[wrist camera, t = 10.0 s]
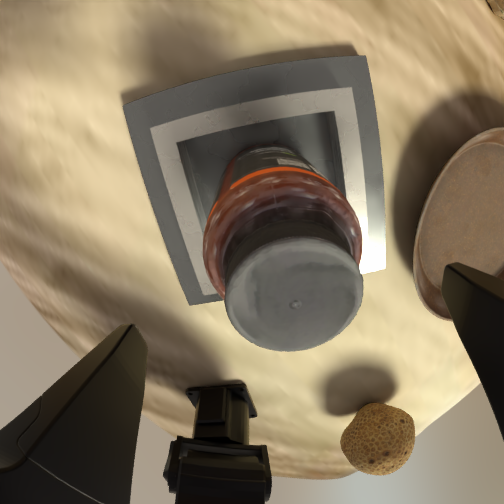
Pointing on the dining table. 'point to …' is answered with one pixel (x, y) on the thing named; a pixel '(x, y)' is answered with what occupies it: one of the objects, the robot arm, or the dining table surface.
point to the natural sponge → (379, 439)
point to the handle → (497, 7)
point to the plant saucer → (462, 218)
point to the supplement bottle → (283, 250)
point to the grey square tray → (255, 133)
